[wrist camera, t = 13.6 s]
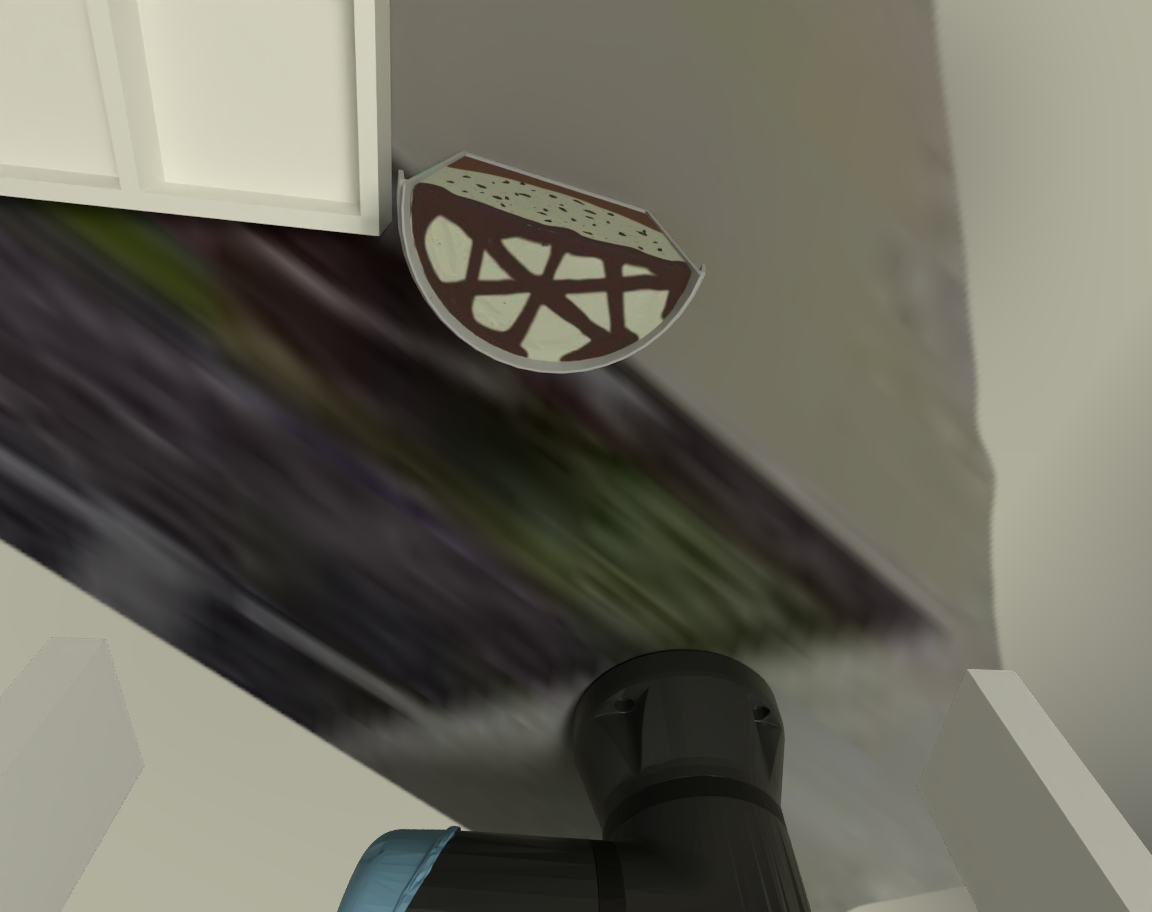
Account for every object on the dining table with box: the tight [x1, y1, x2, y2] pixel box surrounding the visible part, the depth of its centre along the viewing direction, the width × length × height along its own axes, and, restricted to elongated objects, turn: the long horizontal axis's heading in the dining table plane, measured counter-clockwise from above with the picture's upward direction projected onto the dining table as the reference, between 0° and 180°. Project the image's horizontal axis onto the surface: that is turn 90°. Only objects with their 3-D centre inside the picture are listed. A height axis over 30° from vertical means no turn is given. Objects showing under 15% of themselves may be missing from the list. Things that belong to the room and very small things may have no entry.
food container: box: [397, 151, 706, 373], centre depth 32 cm, size 12×6×10 cm, turn 73°
